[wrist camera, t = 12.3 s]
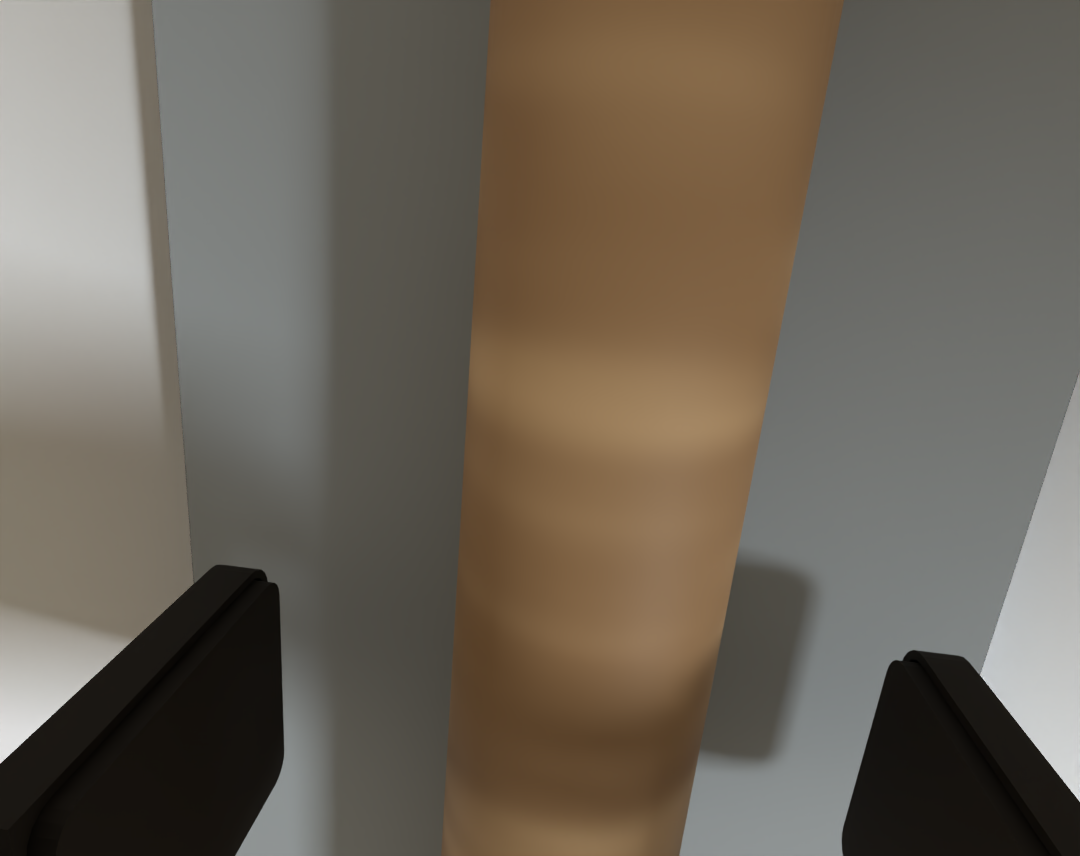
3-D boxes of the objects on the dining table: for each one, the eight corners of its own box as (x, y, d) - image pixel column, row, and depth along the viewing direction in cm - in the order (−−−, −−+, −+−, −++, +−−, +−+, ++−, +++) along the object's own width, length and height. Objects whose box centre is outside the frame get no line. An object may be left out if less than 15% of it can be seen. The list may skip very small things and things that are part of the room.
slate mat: (1312, -480, 6) (1380, -545, 6) (785, 1204, 14) (792, 1245, 14) (149, -519, 7) (109, -582, 7) (249, 1113, 15) (234, 1150, 14)
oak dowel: (546, -496, 6) (506, -1046, 4) (882, -479, 6) (1117, -1039, 3) (436, 1167, 14) (394, 1417, 11) (590, 1191, 14) (588, 1451, 11)
